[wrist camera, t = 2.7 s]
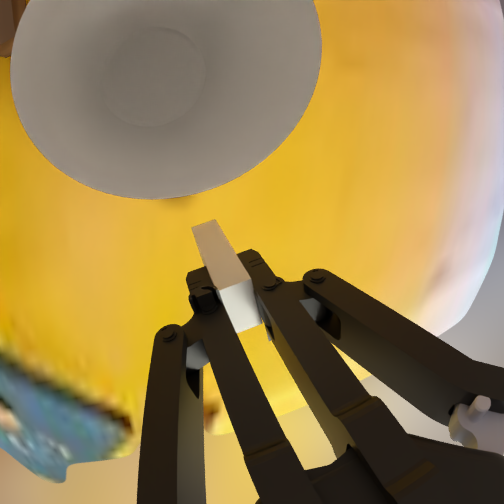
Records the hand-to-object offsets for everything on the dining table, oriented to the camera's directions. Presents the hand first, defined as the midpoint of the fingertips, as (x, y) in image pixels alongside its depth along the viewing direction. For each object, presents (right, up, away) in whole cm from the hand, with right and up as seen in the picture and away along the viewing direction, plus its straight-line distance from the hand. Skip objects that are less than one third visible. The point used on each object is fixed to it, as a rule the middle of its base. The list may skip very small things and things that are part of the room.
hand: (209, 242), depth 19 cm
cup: (-4, +10, -3) cm, 11 cm away
